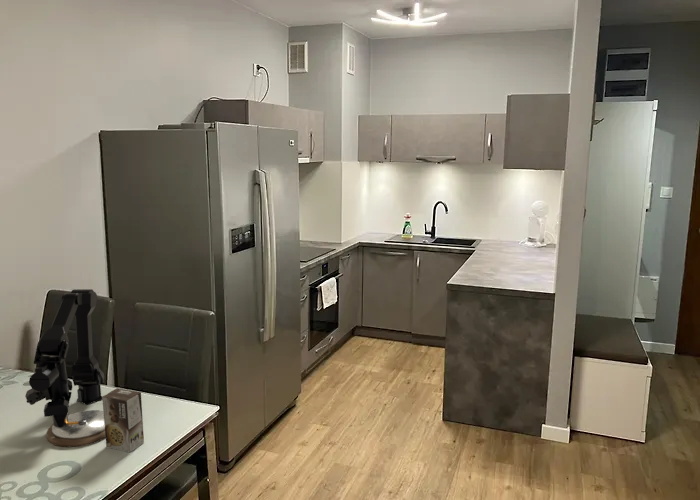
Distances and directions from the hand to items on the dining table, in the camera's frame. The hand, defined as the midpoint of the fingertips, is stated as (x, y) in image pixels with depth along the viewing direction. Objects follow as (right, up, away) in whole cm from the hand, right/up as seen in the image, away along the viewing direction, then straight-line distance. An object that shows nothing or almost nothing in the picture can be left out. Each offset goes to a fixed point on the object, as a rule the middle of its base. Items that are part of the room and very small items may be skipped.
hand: (61, 422), depth 173 cm
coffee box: (+22, -5, -6) cm, 24 cm away
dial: (+6, -1, +1) cm, 6 cm away
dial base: (+6, -3, +2) cm, 7 cm away
